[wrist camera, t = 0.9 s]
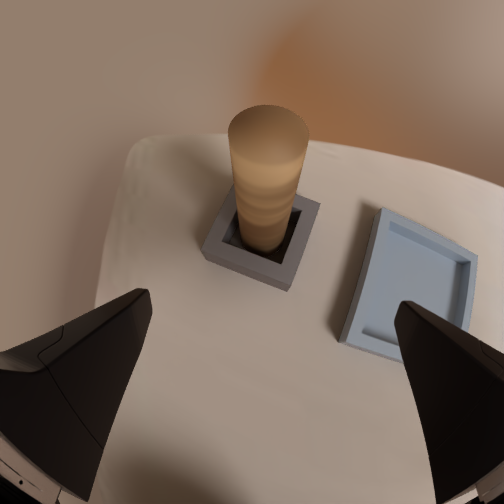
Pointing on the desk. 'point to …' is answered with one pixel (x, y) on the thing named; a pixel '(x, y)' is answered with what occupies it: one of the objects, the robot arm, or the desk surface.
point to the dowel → (266, 173)
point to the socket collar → (255, 265)
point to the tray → (407, 283)
